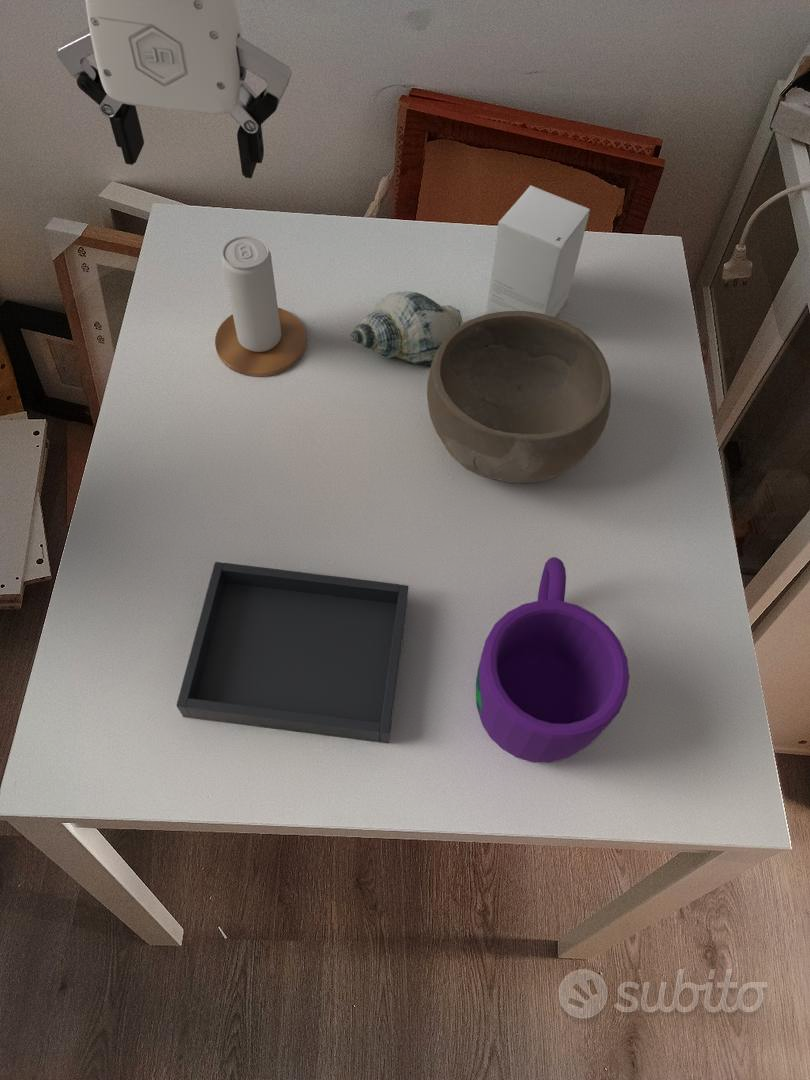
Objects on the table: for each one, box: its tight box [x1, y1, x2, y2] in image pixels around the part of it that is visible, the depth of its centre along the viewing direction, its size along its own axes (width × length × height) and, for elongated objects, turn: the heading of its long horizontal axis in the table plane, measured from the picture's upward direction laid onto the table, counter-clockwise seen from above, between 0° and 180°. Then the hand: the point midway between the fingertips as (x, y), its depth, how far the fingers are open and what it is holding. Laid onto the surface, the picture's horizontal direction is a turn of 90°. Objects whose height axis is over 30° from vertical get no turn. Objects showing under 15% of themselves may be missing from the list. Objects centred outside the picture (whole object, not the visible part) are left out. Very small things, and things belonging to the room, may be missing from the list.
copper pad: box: [214, 307, 308, 377], centre depth 91 cm, size 10×10×1 cm
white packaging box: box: [485, 184, 591, 318], centre depth 90 cm, size 7×7×13 cm
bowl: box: [426, 311, 612, 484], centre depth 82 cm, size 17×18×10 cm
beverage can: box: [221, 235, 281, 352], centre depth 86 cm, size 5×5×12 cm
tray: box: [176, 561, 409, 744], centre depth 72 cm, size 18×14×3 cm
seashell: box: [349, 290, 463, 365], centre depth 89 cm, size 6×8×12 cm
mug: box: [475, 556, 630, 764], centre depth 69 cm, size 17×11×10 cm, turn 172°
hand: (193, 161), depth 68 cm, fingers open, 9 cm apart
